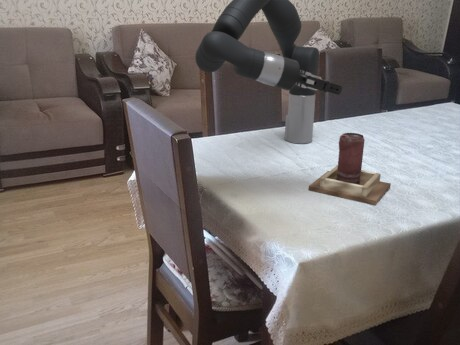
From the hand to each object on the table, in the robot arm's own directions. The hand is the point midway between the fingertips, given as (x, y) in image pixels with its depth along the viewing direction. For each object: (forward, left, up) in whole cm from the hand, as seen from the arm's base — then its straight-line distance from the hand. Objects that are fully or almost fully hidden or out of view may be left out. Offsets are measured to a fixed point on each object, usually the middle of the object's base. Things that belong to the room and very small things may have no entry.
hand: (333, 88), depth 116 cm
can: (+6, 0, -26) cm, 27 cm away
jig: (+7, +1, -27) cm, 28 cm away
